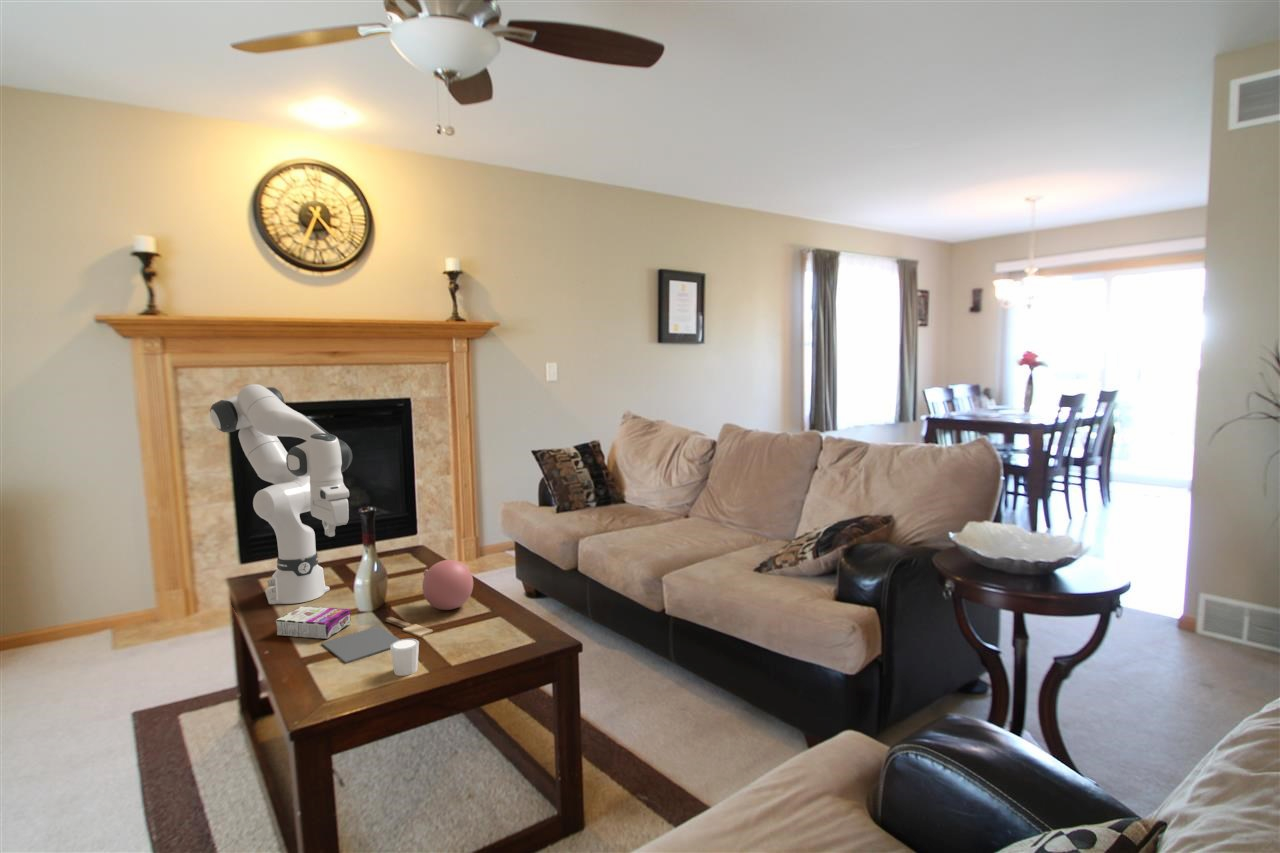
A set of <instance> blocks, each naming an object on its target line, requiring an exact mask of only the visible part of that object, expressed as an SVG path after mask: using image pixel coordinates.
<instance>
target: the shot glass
mask: <svg viewBox="0 0 1280 853" xmlns="http://www.w3.org/2000/svg"><path fill="white" fill-rule="evenodd" d="M419 645H420V641H419V640H417V639H415V638H402V639H400V640H398V641H396V642H394V643H392V644H391V646H390V654H391V659H392V668H393V673H394V675H396V676H400V677H403V676H409V675H412V674H414V673H416V672H417V671H418V666H419Z"/></svg>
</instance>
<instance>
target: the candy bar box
mask: <svg viewBox="0 0 1280 853" xmlns="http://www.w3.org/2000/svg"><path fill="white" fill-rule="evenodd" d="M351 623H352V618H351V609H350V608H337V607H335V608H333V607H321V606H320V607H319V606H307V605H306V606H304V605H300V606H299V607H297V608H295V609H294V610H292V611H290V612H288V613H286V614H284V615H283V616H280V617H279V618H277V619H276V620H275V624H276V626H275V627H276V635H277V636H283V637H285V636H286V637H293V638H308V639H322V640H327V639H330V638H331V637H333V636H334V635H336V634H337V633H339V632H340V631H342V630H343V629H345V628H346V627H349V626H350V625H351Z"/></svg>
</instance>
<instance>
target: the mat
mask: <svg viewBox="0 0 1280 853" xmlns="http://www.w3.org/2000/svg"><path fill="white" fill-rule="evenodd" d="M398 640H401V639H400V638H398V637H397V636H396V635H394V634H392V633H391V632H389V631H387V630H386V629H384V628H382V627H381V626H379V625H378V626H374V627H370V628H367V629H363V630H360V631H356V632H353V633H350V634H347V635H343V636H340V637H336V638H334V639H330V640H326V641H322V642H321V646H323V647H324V648H325V649H327V650H328V651H329V652H331V653H332V654H333V655H334V656H336V657H337V658H338V659H340V660H341V661H342V662H343V663H345V664H349V663H353V662H355V661H359V660H362V659H365V658H367V657H370V656H371V657H372V656H374V655H377V654H379V653H383V652H386V651H389V650H390V651H391V649H390V646H391V644H392V643H394V642H396V641H398Z"/></svg>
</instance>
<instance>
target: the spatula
mask: <svg viewBox="0 0 1280 853" xmlns="http://www.w3.org/2000/svg"><path fill="white" fill-rule="evenodd" d="M385 621H386V622H387V623H389V624H392V625H395V626H398V627H399V628H402V631H403V632H406V633H408V634H410V635H413V636H416V637H419V638H421V637H423V636H427V635H429V634H430V633H433V632H434V629H431V628H427V627H425V626H423V625H419V624H417V623H415V624H412V623H410V622H407V621H404V620H401V619H398V618H395V617H393V616H389V617H386V618H385Z"/></svg>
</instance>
